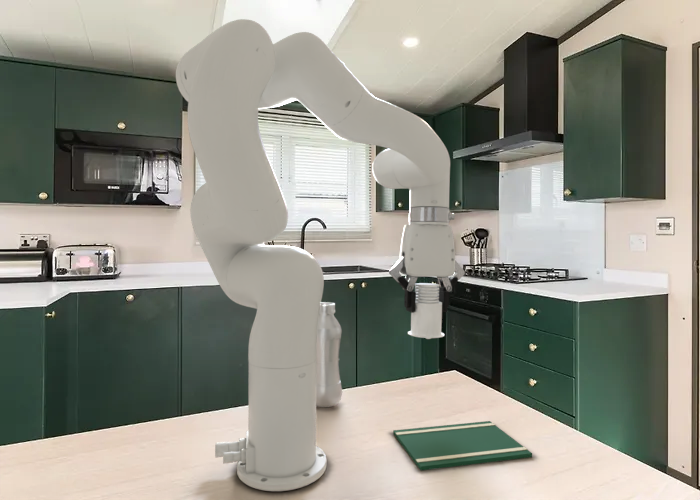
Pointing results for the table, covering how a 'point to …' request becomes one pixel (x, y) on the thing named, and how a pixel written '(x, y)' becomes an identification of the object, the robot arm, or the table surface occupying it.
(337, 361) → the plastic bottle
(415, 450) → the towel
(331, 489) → the table surface
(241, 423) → the table surface
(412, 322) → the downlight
